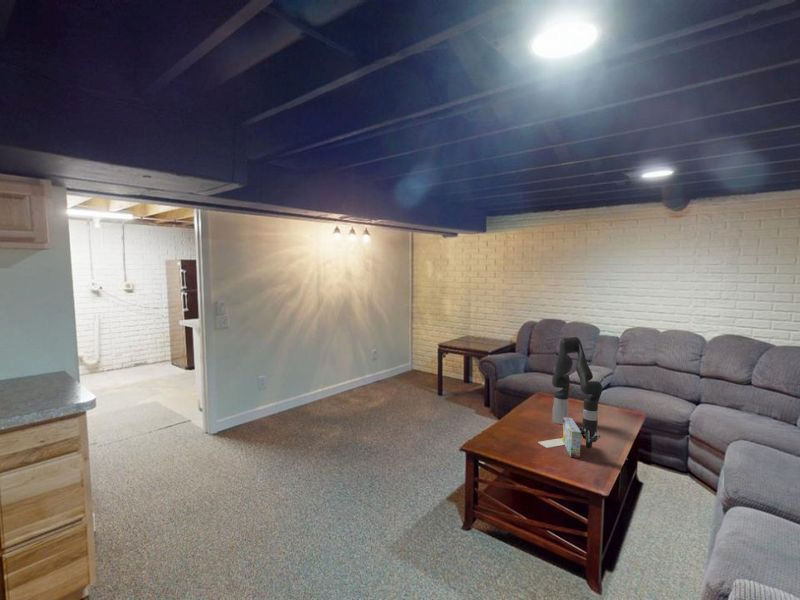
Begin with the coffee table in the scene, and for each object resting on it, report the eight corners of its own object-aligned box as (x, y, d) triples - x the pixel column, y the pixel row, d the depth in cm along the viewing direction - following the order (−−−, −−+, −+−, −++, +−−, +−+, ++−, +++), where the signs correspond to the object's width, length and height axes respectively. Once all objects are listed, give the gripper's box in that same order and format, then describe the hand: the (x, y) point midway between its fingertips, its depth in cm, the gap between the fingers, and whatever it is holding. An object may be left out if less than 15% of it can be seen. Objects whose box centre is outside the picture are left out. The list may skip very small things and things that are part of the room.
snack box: (581, 458, 220) (581, 432, 218) (570, 457, 221) (571, 431, 219) (571, 441, 241) (572, 417, 239) (561, 440, 242) (562, 416, 240)
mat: (537, 442, 240) (537, 441, 240) (569, 437, 248) (569, 436, 248) (547, 448, 232) (547, 447, 232) (579, 442, 240) (579, 441, 240)
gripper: (575, 414, 222) (574, 444, 223) (594, 422, 209) (593, 454, 211) (586, 412, 224) (584, 442, 226) (605, 420, 212) (603, 452, 213)
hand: (588, 448), depth 218 cm, fingers closed
